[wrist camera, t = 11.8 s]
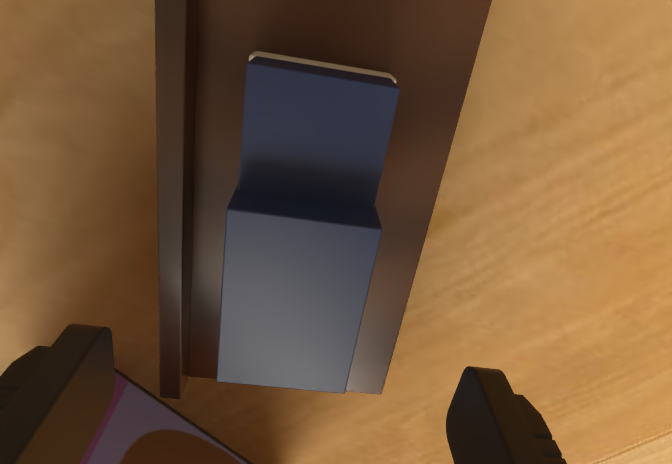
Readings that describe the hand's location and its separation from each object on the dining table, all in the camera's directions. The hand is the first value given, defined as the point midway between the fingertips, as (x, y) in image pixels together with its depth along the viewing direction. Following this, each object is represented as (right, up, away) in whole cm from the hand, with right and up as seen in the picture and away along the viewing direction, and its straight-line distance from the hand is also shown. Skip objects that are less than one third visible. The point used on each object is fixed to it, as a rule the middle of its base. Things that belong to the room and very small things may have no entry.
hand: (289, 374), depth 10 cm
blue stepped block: (0, +4, +9) cm, 10 cm away
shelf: (-1, +6, +13) cm, 15 cm away
